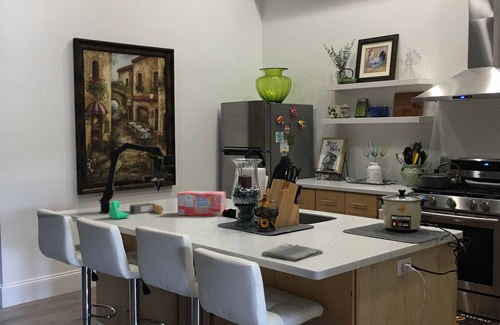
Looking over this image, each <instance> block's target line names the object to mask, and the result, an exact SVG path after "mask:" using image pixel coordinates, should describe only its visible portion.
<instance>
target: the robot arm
mask: <svg viewBox="0 0 500 325" xmlns="http://www.w3.org/2000/svg"><path fill="white" fill-rule="evenodd" d="M127 150H132V151H137V152H143V153H144V152H145V153H148V154H150V155H151V157H149V160H152V167H151V168H152V176H151V175H142V176H141V180H142V181H143V182H147V181H151V182H153V184H154V187H155V189H156V191H157V192H159V191H160V189H161V185H162V184H163V182H165V179H166V180H167V179H168V180H174V175H173V174H171V173H168V172H169V171H168V170H163V166H165V167H174V166H175V164H174V162H175V161H174V155H173V154H170V155H165V154H164V153H163V152H162V148H161V147H160V146H158V145H155V146H154V145H152V146H151V145H149V146H148V145H147V146H146V145H141V144H138V143H130V142H124V143H123V144H122V145H120V146H119V147H117V148H114V149H112V150H110V153H109V156H110V157H109V159H110V160H109V163H110V165H109V169H108V170H109V171H108V176H107V180H106V181H107V182H106V186H105V187H104V188H105V189H104V191H103V194H102V197H101V198H100V199H99V200H98V201H99V204H100V210H99V211H98V213H101V214H109V211H110V206H111V200H112V198H114V196H115V191H116V188H114V182H115V176H116V171H117V166H118V165H117V164H118V162H119V159H120V157H121V154H122V153H124V152H125V151H127Z"/></svg>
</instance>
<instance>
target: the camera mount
mask: <svg viewBox="0 0 500 325" xmlns="http://www.w3.org/2000/svg"><path fill="white" fill-rule="evenodd" d="M119 208H120V201H119V200H112V201H110V211H109V213H108V217H111V219H113V220H119V219H127V218H129V217H130V213H127V212H124V211H123V212H122V211H119Z"/></svg>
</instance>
